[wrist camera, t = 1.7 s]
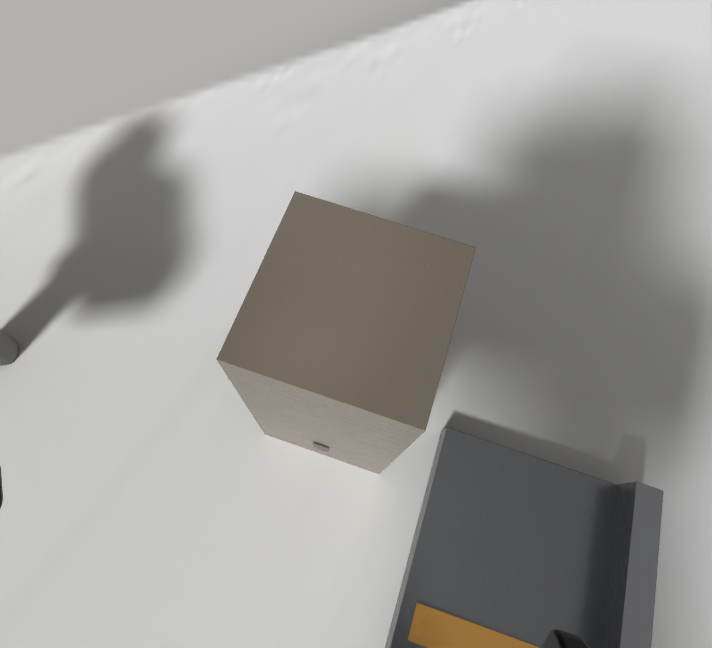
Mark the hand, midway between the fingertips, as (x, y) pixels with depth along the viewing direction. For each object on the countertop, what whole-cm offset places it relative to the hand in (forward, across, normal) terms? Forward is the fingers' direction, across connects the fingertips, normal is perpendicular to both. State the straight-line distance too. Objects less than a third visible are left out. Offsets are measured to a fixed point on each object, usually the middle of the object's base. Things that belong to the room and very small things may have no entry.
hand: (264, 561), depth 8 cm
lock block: (+13, 0, +5) cm, 14 cm away
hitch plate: (+8, -8, +10) cm, 15 cm away
